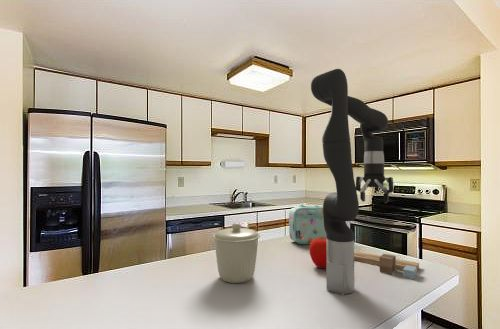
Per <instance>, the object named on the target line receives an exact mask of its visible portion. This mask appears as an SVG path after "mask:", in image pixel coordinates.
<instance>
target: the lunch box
mask: <svg viewBox="0 0 500 329" xmlns="http://www.w3.org/2000/svg"><path fill="white" fill-rule="evenodd" d="M288 232H289V238H290V240H291V241H294V242H295V243H297V244H299V245H310V244H311V242H312V241H313V240H314V239H315V238H318V237H319V238H320V237H323V238H325V237H326V232H325V229H324V219H323V205H304V204H299V206H296V207H292V208H291V209H289V213H288Z"/></svg>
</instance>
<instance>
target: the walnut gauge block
mask: <svg viewBox="0 0 500 329" xmlns="http://www.w3.org/2000/svg"><path fill="white" fill-rule="evenodd" d="M379 256H380V266H379V272H380V273H384V274H388V275H393V274H394V273H395V272H396V270H397V269H396V259H397V258H396V255H394V254H389V253H382V255H379Z"/></svg>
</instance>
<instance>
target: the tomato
mask: <svg viewBox="0 0 500 329" xmlns="http://www.w3.org/2000/svg"><path fill="white" fill-rule="evenodd" d="M326 246H327V243H326V237H325V238H323V237H320V238H319V237H318V238H315V239H314V240H313V241H312V242H311V244H309V255H310V258H311V261H312V262H313V264H314V265H315V266H316V267H317V268H321V269H326V263H327V249H326Z"/></svg>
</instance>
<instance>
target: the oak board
mask: <svg viewBox="0 0 500 329" xmlns="http://www.w3.org/2000/svg"><path fill="white" fill-rule="evenodd" d="M380 256H381V255H378V254H373V253H369V252H368V253H367V252H364V251H357V250H355V251H354V262H355V261H357V262H360V263H365V264H368V265H369V264H370V265H374V266H379V267H380ZM406 265H409V266H414V267H417V271H419V269H420V263H419V262H414V261H410V260H406V259H405V260H404V259H399V258H396V270H398V271H402V272H403V269H404V268H405V266H406Z"/></svg>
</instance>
